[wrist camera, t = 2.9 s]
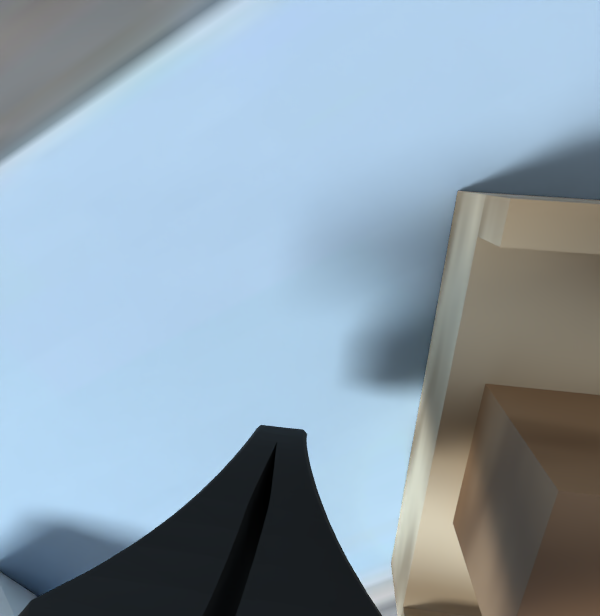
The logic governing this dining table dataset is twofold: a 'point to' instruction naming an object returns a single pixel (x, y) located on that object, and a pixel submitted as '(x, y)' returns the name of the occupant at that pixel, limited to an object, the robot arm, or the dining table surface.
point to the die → (13, 597)
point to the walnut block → (533, 503)
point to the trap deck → (492, 363)
